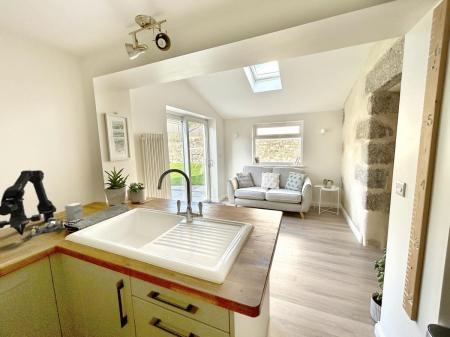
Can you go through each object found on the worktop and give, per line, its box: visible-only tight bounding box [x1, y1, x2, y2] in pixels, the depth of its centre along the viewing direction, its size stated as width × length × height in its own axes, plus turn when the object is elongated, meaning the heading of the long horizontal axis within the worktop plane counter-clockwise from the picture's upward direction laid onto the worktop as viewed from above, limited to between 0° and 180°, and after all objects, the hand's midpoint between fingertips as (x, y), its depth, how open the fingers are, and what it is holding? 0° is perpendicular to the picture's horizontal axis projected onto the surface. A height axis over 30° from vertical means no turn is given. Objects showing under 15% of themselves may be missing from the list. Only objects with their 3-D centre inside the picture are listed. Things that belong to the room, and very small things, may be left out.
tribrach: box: [27, 221, 68, 238], centre depth 133 cm, size 19×22×5 cm
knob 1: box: [29, 225, 40, 235], centre depth 122 cm, size 8×4×3 cm, turn 37°
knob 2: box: [48, 216, 64, 222], centre depth 139 cm, size 8×4×3 cm, turn 127°
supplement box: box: [64, 202, 85, 222], centre depth 143 cm, size 7×7×13 cm
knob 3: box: [59, 219, 69, 228], centre depth 131 cm, size 8×4×3 cm, turn 37°
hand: (21, 235), depth 117 cm, fingers closed
